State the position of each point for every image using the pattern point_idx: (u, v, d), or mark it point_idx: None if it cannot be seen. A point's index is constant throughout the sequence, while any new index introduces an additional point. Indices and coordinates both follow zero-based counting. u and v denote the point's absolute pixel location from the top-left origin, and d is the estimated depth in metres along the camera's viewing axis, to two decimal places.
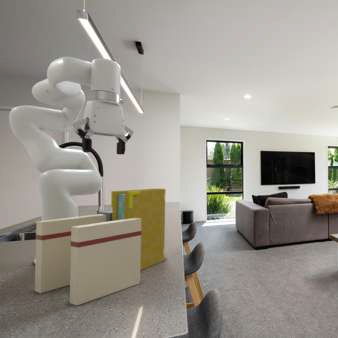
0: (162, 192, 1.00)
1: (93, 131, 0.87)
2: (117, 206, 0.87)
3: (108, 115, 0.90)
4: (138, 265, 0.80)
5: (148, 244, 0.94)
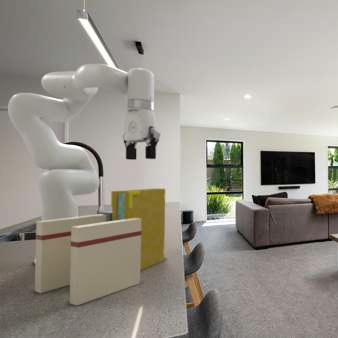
0: (162, 192, 1.00)
1: None
2: (117, 206, 0.87)
3: None
4: (138, 265, 0.80)
5: (148, 244, 0.94)
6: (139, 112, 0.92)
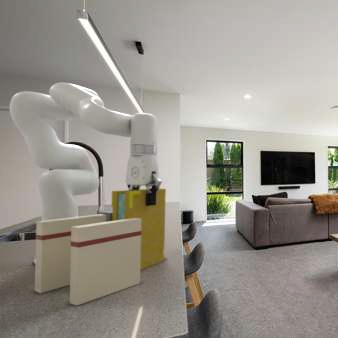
0: (162, 192, 1.00)
1: None
2: (117, 206, 0.87)
3: None
4: (138, 265, 0.80)
5: (148, 244, 0.94)
6: (142, 158, 0.92)
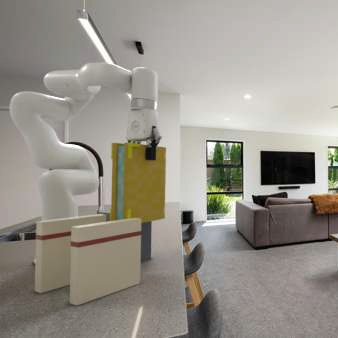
0: (163, 150, 1.00)
1: None
2: (117, 157, 0.88)
3: None
4: (138, 265, 0.80)
5: (148, 199, 0.94)
6: (142, 112, 0.92)
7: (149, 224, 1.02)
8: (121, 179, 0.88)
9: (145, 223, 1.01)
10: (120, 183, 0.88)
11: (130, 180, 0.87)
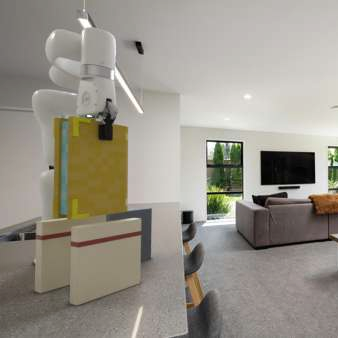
0: (123, 129, 0.83)
1: None
2: (60, 135, 0.71)
3: None
4: (138, 265, 0.80)
5: (103, 187, 0.77)
6: (94, 81, 0.75)
7: (149, 224, 1.02)
8: (65, 162, 0.71)
9: (145, 223, 1.01)
10: (65, 167, 0.71)
11: (77, 163, 0.71)
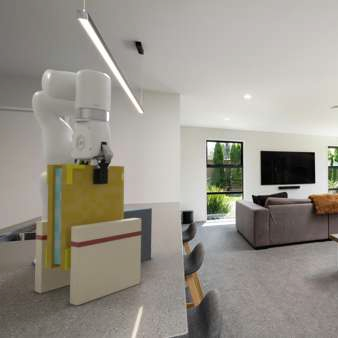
0: (119, 170, 0.82)
1: None
2: (54, 183, 0.70)
3: None
4: (138, 265, 0.80)
5: None
6: (88, 125, 0.74)
7: (149, 224, 1.02)
8: (59, 211, 0.70)
9: (145, 223, 1.01)
10: (58, 215, 0.70)
11: (70, 211, 0.69)
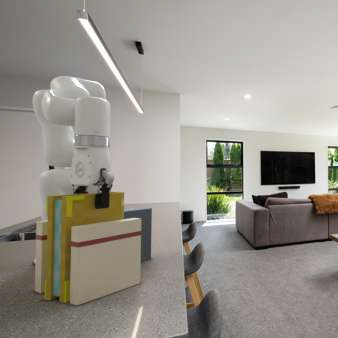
0: (119, 196, 0.82)
1: None
2: (53, 215, 0.69)
3: None
4: (138, 265, 0.80)
5: None
6: (88, 152, 0.74)
7: (149, 224, 1.02)
8: (58, 242, 0.69)
9: (145, 223, 1.01)
10: (58, 247, 0.69)
11: (70, 243, 0.69)
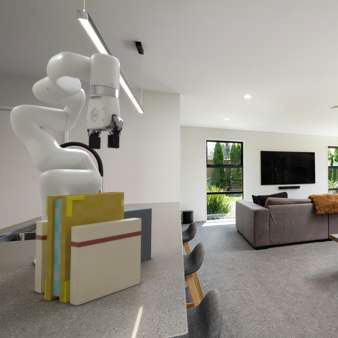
0: (119, 196, 0.82)
1: None
2: (53, 215, 0.70)
3: None
4: (138, 265, 0.80)
5: None
6: (101, 99, 0.88)
7: (149, 224, 1.02)
8: (58, 242, 0.69)
9: (145, 223, 1.01)
10: (58, 247, 0.69)
11: (70, 243, 0.69)
